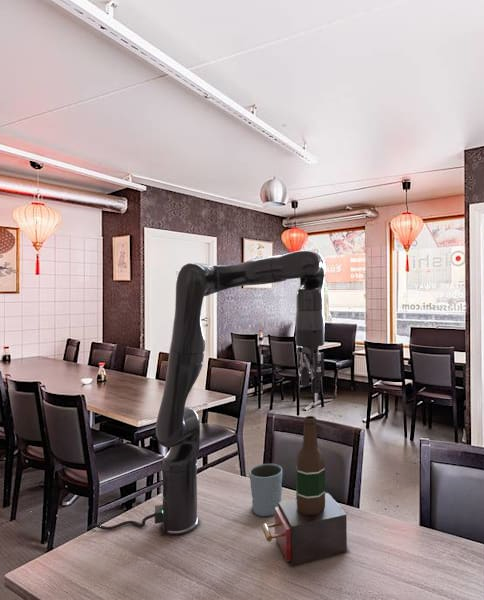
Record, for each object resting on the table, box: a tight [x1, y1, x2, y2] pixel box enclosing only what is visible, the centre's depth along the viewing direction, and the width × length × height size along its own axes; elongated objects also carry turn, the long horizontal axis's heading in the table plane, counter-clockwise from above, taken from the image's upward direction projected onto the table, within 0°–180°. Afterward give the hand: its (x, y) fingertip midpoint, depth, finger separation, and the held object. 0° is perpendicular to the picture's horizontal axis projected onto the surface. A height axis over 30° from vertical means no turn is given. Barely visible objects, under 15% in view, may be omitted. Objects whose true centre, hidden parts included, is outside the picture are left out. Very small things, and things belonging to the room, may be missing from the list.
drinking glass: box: [249, 463, 283, 517], centre depth 127 cm, size 10×10×12 cm
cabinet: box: [278, 492, 348, 566], centre depth 109 cm, size 15×13×10 cm
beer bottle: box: [295, 415, 326, 515], centre depth 108 cm, size 8×8×24 cm
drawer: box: [261, 507, 291, 562], centre depth 107 cm, size 18×11×8 cm, turn 111°
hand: (310, 389), depth 108 cm, fingers open, 8 cm apart
